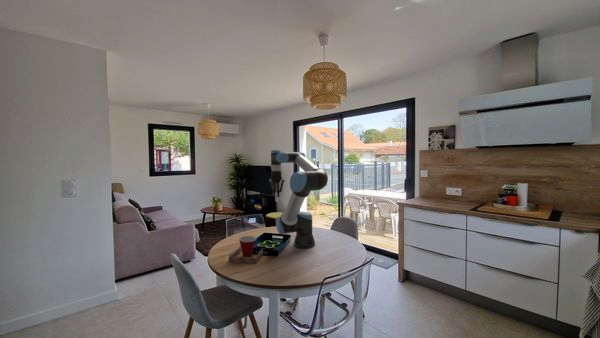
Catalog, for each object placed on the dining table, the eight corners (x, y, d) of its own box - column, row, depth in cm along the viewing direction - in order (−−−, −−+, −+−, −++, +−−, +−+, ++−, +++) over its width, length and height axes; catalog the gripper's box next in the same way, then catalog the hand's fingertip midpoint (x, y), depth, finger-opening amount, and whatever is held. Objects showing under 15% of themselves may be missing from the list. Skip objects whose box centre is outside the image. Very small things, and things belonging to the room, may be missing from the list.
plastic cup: (258, 258, 154) (257, 239, 153) (240, 261, 150) (239, 241, 149) (254, 252, 164) (254, 234, 163) (238, 254, 160) (237, 236, 159)
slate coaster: (237, 252, 164) (237, 251, 164) (236, 254, 160) (236, 253, 160) (231, 252, 164) (230, 251, 164) (229, 255, 159) (229, 254, 159)
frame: (263, 252, 162) (263, 248, 162) (255, 263, 146) (255, 258, 146) (239, 251, 165) (239, 247, 165) (229, 261, 149) (228, 257, 149)
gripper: (285, 170, 188) (286, 200, 189) (269, 170, 190) (269, 200, 191) (283, 170, 180) (284, 202, 182) (266, 170, 182) (267, 202, 184)
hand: (276, 201), depth 186 cm, fingers closed
